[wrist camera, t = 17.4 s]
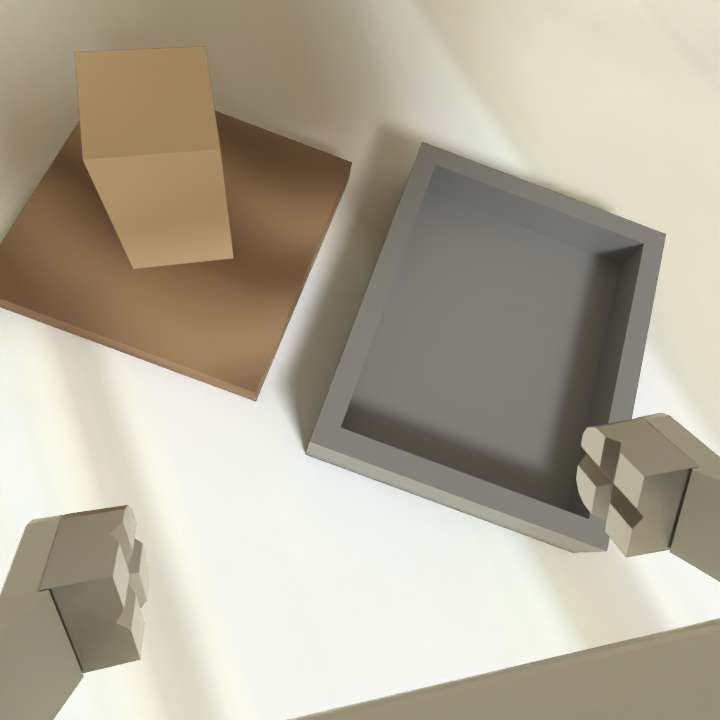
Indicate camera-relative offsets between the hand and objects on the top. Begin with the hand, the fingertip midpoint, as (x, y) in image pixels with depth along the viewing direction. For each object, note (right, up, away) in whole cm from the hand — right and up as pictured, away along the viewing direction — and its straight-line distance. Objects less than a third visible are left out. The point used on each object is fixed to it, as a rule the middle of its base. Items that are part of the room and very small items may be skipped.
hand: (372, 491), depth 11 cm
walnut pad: (-9, +8, +20) cm, 23 cm away
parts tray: (+6, +3, +20) cm, 21 cm away
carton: (-9, +9, +18) cm, 22 cm away
